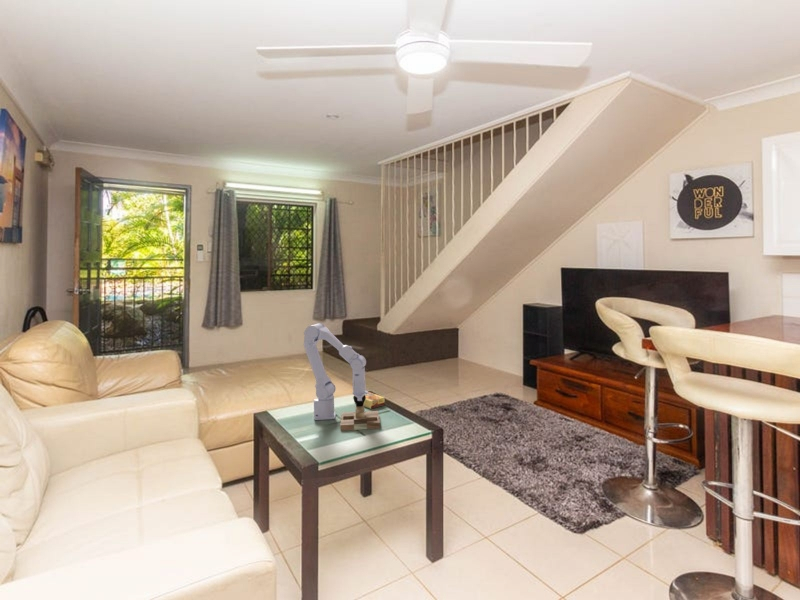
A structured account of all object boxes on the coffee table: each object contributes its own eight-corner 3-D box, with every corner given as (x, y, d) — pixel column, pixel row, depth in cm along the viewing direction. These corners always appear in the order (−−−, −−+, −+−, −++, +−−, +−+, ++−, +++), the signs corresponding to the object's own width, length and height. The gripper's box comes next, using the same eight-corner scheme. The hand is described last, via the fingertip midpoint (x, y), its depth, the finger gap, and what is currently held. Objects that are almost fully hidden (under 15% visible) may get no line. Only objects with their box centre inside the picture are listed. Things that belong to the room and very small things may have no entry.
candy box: (385, 405, 215) (367, 398, 227) (384, 397, 215) (367, 390, 227) (370, 409, 210) (353, 402, 222) (370, 400, 210) (353, 394, 222)
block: (355, 418, 191) (355, 409, 190) (355, 415, 195) (355, 406, 194) (364, 417, 191) (364, 408, 191) (364, 414, 195) (364, 406, 195)
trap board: (341, 417, 198) (341, 408, 198) (378, 415, 200) (377, 406, 200) (340, 430, 183) (340, 420, 182) (380, 428, 184) (379, 418, 184)
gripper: (368, 386, 189) (369, 416, 189) (367, 378, 203) (367, 406, 204) (352, 387, 188) (353, 417, 189) (352, 379, 202) (353, 407, 203)
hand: (359, 411), depth 196 cm, fingers closed
